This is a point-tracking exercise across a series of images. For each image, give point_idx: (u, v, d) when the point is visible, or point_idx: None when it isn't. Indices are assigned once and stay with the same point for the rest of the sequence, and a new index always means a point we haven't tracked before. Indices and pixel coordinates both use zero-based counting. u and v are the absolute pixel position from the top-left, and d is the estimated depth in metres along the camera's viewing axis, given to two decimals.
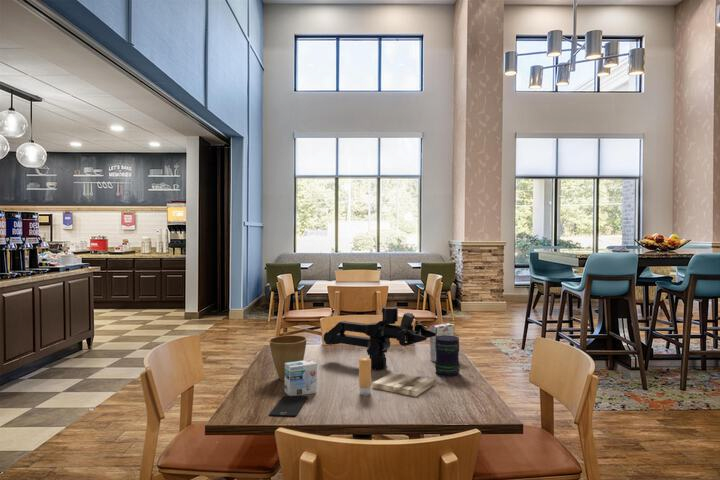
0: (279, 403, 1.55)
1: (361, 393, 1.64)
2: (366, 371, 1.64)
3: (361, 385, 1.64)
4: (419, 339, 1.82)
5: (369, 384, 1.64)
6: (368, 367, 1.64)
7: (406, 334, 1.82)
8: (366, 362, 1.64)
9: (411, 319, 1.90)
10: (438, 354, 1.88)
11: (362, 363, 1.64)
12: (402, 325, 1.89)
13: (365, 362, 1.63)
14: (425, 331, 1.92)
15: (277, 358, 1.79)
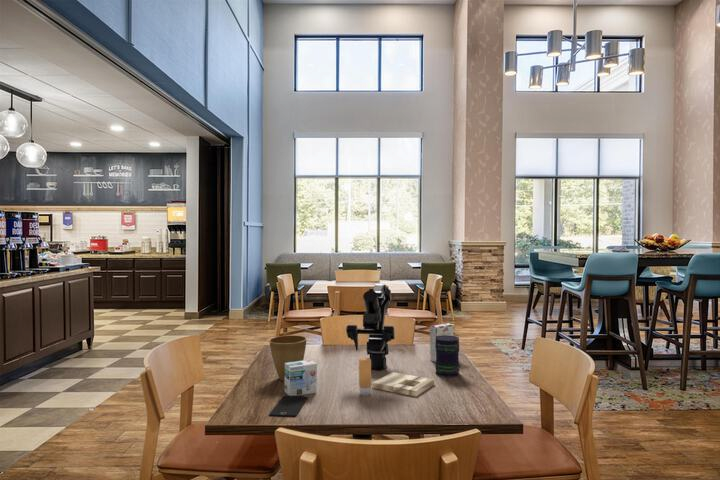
0: (279, 403, 1.55)
1: (361, 393, 1.64)
2: (366, 371, 1.64)
3: (361, 385, 1.64)
4: None
5: (369, 384, 1.64)
6: (368, 367, 1.64)
7: None
8: (366, 362, 1.64)
9: (370, 321, 1.76)
10: (438, 354, 1.88)
11: (362, 363, 1.64)
12: None
13: (365, 362, 1.63)
14: (382, 339, 1.76)
15: (277, 358, 1.79)
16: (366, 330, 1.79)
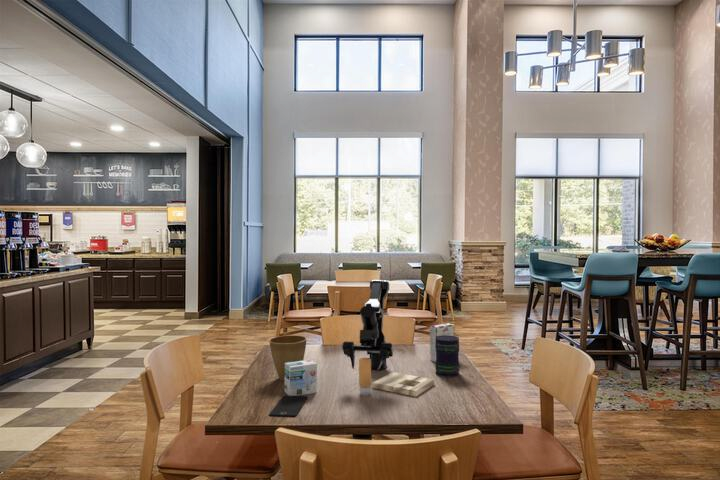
0: (279, 403, 1.55)
1: (361, 393, 1.64)
2: (366, 371, 1.64)
3: (361, 385, 1.64)
4: None
5: (369, 384, 1.64)
6: (368, 367, 1.64)
7: None
8: (366, 362, 1.63)
9: (367, 338, 1.69)
10: (438, 354, 1.88)
11: (362, 363, 1.64)
12: None
13: (365, 362, 1.63)
14: None
15: (277, 358, 1.79)
16: (363, 347, 1.72)
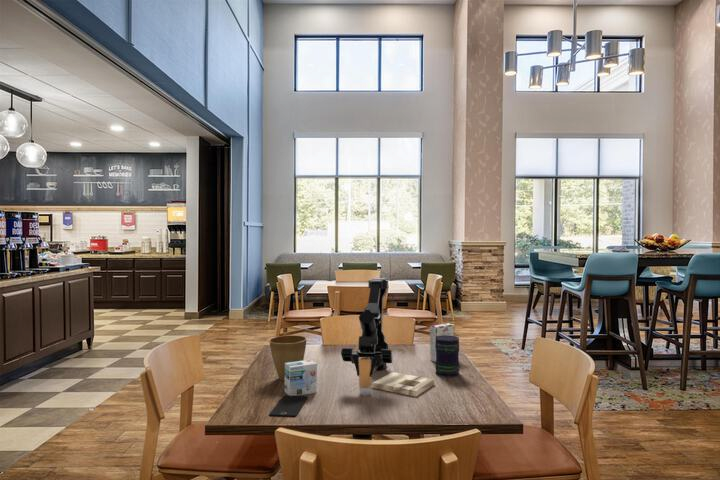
0: (279, 403, 1.55)
1: (361, 393, 1.64)
2: (366, 371, 1.63)
3: (361, 385, 1.64)
4: None
5: (369, 384, 1.64)
6: (368, 367, 1.64)
7: None
8: (366, 362, 1.63)
9: (366, 345, 1.66)
10: (438, 354, 1.88)
11: (362, 363, 1.64)
12: None
13: (365, 362, 1.63)
14: None
15: (277, 358, 1.79)
16: (362, 353, 1.70)
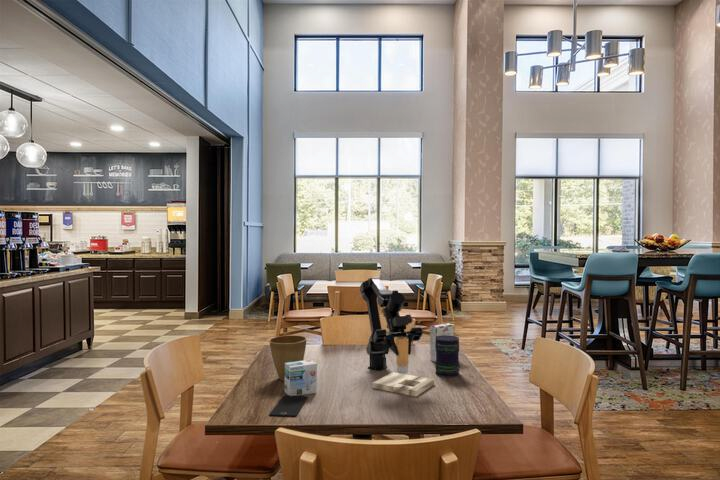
0: (279, 403, 1.55)
1: (401, 371, 1.68)
2: (406, 349, 1.68)
3: (401, 364, 1.68)
4: (393, 349, 1.70)
5: None
6: (407, 345, 1.69)
7: (385, 337, 1.71)
8: (406, 341, 1.68)
9: (403, 324, 1.71)
10: (438, 354, 1.88)
11: (403, 342, 1.68)
12: (392, 322, 1.73)
13: (405, 341, 1.68)
14: None
15: (277, 358, 1.79)
16: (394, 333, 1.73)
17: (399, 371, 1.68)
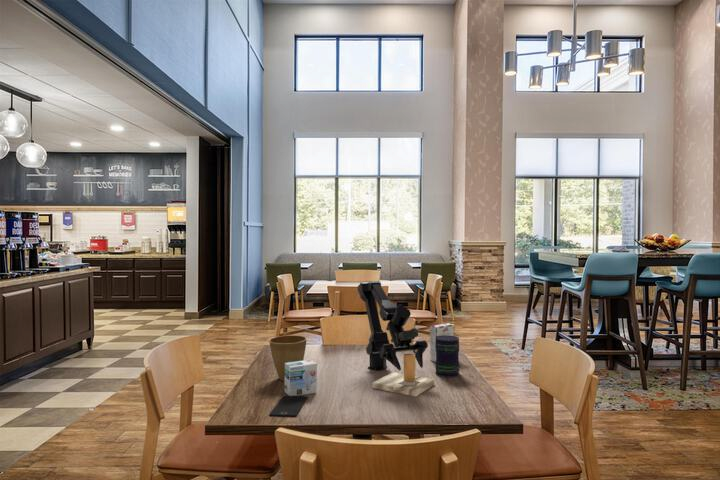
0: (279, 403, 1.55)
1: None
2: (414, 366, 1.70)
3: (409, 380, 1.69)
4: (395, 364, 1.70)
5: None
6: None
7: (387, 352, 1.71)
8: (414, 357, 1.70)
9: (409, 338, 1.72)
10: (438, 354, 1.88)
11: (410, 359, 1.69)
12: (398, 336, 1.74)
13: (413, 357, 1.70)
14: (418, 355, 1.75)
15: (277, 358, 1.79)
16: (401, 347, 1.74)
17: None
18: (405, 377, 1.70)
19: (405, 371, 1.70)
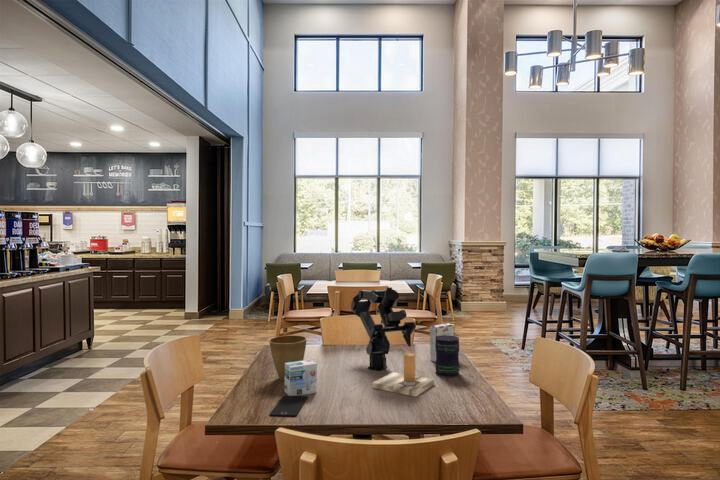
0: (279, 403, 1.55)
1: None
2: (414, 366, 1.70)
3: (409, 380, 1.69)
4: (384, 343, 1.79)
5: None
6: None
7: (376, 331, 1.80)
8: (414, 357, 1.70)
9: (398, 319, 1.81)
10: (438, 354, 1.88)
11: (410, 359, 1.69)
12: (387, 317, 1.83)
13: (413, 357, 1.70)
14: (407, 335, 1.83)
15: (277, 358, 1.79)
16: (390, 328, 1.83)
17: None
18: (405, 377, 1.70)
19: (405, 371, 1.70)
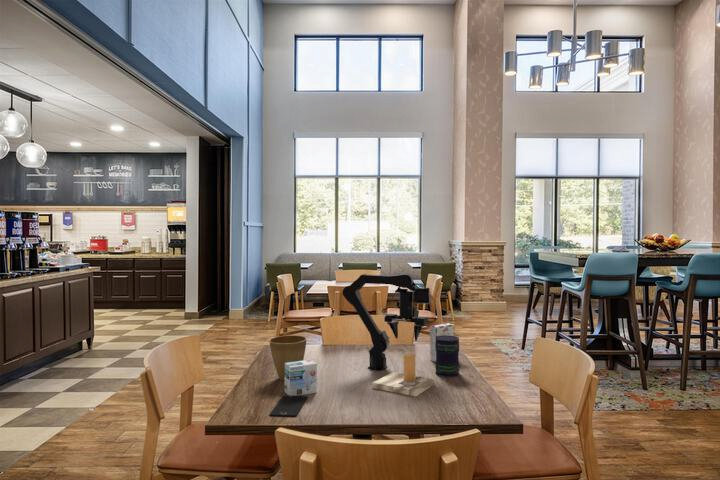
0: (279, 403, 1.55)
1: None
2: (414, 366, 1.70)
3: (409, 380, 1.69)
4: (417, 334, 1.92)
5: None
6: None
7: None
8: (414, 357, 1.70)
9: None
10: (438, 354, 1.88)
11: (410, 359, 1.69)
12: (415, 311, 1.97)
13: (413, 357, 1.70)
14: (396, 327, 1.99)
15: (277, 358, 1.79)
16: None
17: None
18: (405, 377, 1.70)
19: (405, 371, 1.70)
